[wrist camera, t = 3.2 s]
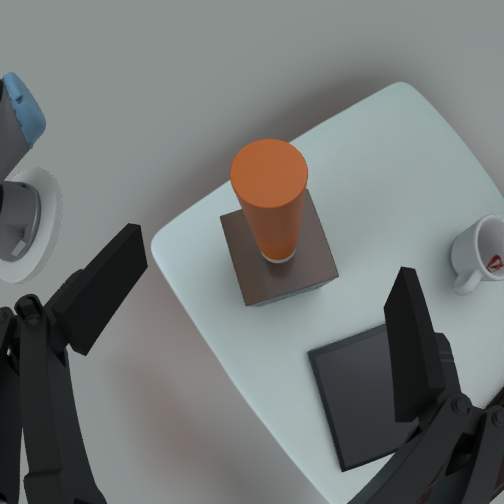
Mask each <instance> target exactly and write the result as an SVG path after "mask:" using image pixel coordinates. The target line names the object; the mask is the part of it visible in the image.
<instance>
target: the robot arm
mask: <svg viewBox="0 0 504 504" xmlns="http://www.w3.org/2000/svg"><path fill="white" fill-rule="evenodd" d="M45 126H46V121H45V117H44V115H43V113H42V111H41V109H40V107H39V105H38V104H37V102H36V100H35V99H34V97H33V96H32V94H31V93H30V91H29V90H28V89H27V87H26V86H25V84H24V83H23V82H22V80H21V79H20V78H19V77H18V76H17V75H16V74H15V73H13V72H9V73H8V74H6V75H5V76H3V78H2V80H1V79H0V259H1V260H3V261H7V262H16V261H18V260H20V259H21V258H22V257H23V256H24V255H25V254H26V253H27V252H28V250H29V249H30V247H31V245H32V244H33V242H34V239H35V237H36V234H37V231H38V228H39V224H40V218H41V200H40V196H39V193H38V191H37V190H36V189H35V188H34V187H33V186H31V185H29V184H28V183H24V182H14V181H4V180H5V178H6V177H7V176H8V175H9V173H10V172H11V171H12V170H13V168H14V167H15V166H16V165H17V164H18V162H19V161H20V160H21V159H22V158H23V157H24V155H25V154H26V153H27V152H28V151H29V150H30V149H32V147H33V144H34V143H35V142H36V140H37V139H38V138H39V137H40V136H41V135H42V133H43V132H44V130H45ZM147 267H148V265H147V260H146V255H145V249H144V244H143V238H142V232H141V226H140V225H137V224H130V223H128V224H127V225H126V226H125V227H124V228H123V229H122V230H121V231H120V232H119V233H118V234H117V235H116V236H115V237H114V238H113V239H112V240H111V241H110V242H109V243H108V244H107V245H106V246H105V247H104V248H103V249H102V250H101V252H100V253H99V254H98V255H97V256H96V257H95V258H94V259H93V260H92V261H91V262H90V263H89V264H88V265H87V266H86V268H85V269H84V270H82V269H79V270H78V271H76V272H75V273H73V274H72V275H71V276H70V277H69V278H68V279H67V280H66V281H65V283H63V285H62V286H61V287H60V289H58V290H57V292H56V293H55V294H54V295H53V296H52V297H51V298H50V300H49V301H48V302H47V303H46V304H45V305H44V307H43V306H42V304H41V302H40V300H39V298H38V297H37V296H36V295H34V294H27V295H25V296H23V297H21V298H20V299H19V300H18V301H17V302H16V304H15V306H14V309H15V311H16V313H17V315H14V313H13V311H12V310H11V309H10V308H9V307H2V308H0V504H18V501H19V490H20V451H21V437H22V426H23V433H24V441H25V448H26V455H27V461H28V465H29V473H28V474H27V475H26V476H25V477H24V480H23V481H24V489H25V493H26V497H27V501H28V504H107V502H106V500H105V498H104V496H103V494H102V493H101V492H100V490H99V489H98V488H97V486H96V484H95V481H94V478H93V475H92V472H91V468H90V465H89V462H88V458H87V455H86V451H85V447H84V443H83V439H82V435H81V430H80V426H79V422H78V417H77V412H76V407H75V401H74V396H73V389H72V383H71V377H70V368H69V360H68V352H67V350H66V348H65V347H66V346H67V345H68V343H69V344H70V345H71V347H72V349H73V350H74V351H75V352H77V353H80V354H82V355H84V356H86V355H87V354H88V352H89V351H90V349H91V348H92V346H93V344H94V343H95V341H96V339H97V338H98V337H99V335H100V334H101V332H102V331H103V329H104V328H105V326H106V325H107V323H108V322H109V321H110V319H111V318H112V316H113V315H114V313H115V312H116V310H117V309H118V308H119V306H120V305H121V303H122V302H123V300H124V299H125V297H126V296H127V295H128V293H129V292H130V291H131V289H132V288H133V286H134V285H135V284H136V282H137V281H138V280H139V278H140V277H141V275H142V274H143V273H144V271H145V270H146V268H147ZM384 314H385V320H386V327H387V335H388V343H389V351H390V360H391V370H392V381H393V394H394V411H395V422H404V423H406V422H412V421H414V420H415V419H416V418H417V417H418V418H419V424H418V425H417V426H416V427H415V428H414V429H413V430H411V431H410V432H409V433H408V434H407V435H409V436H408V438H407V439H406V440H405V442H404V443H403V444H402V445H401V447H400V448H399V449H398V450H397V451H396V453H395V454H394V455H393V456H392V457H391V459H390V460H389V461H388V462H387V463H386V464H385V465H384V467H383V468H382V469H381V470H380V471H379V472H378V473H377V474H376V475H375V476H374V477H373V478H372V480H371V481H370V482H369V483H368V484H367V485H366V486H365V487H364V488H363V489H362V490H361V491H360V492H359V493H358V494H357V495H356V496H355V497H354V498H353V499H352V500H350V501H349V502H348V503H347V504H415V503H416V502H417V500H418V499H419V498H420V496H421V495H422V494H423V493H424V491H425V490H426V489H427V487H428V486H429V484H430V483H431V482H432V480H433V479H434V477H435V476H436V474H437V473H438V472H439V470H440V469H441V467H442V466H443V467H442V469H441V472H440V474H439V477H438V479H437V482H436V484H435V486H434V489H433V491H432V493H431V495H430V497H429V500H428V502H427V504H489V503H490V500H491V497H492V494H493V491H494V488H495V485H496V481H497V478H498V474H499V470H500V466H501V462H502V458H503V453H504V408H503V407H502V406H500V405H494V406H492V407H491V408H489V409H488V410H484V409H481V408H478V407H475V406H472V403H471V401H470V399H469V398H468V397H467V396H466V395H465V394H463V393H462V392H461V389H460V384H459V379H458V375H457V370H456V366H455V363H454V358H453V355H452V350H451V347H450V343H449V341H448V340H447V338H446V337H445V335H444V334H443V333H436V332H434V330H433V326H432V322H431V319H430V315H429V312H428V308H427V305H426V302H425V298H424V295H423V292H422V289H421V286H420V283H419V280H418V277H417V274H416V271H415V269H413V268H407V267H401V268H400V270H399V273H398V275H397V278H396V280H395V283H394V285H393V287H392V290H391V292H390V294H389V297H388V299H387V301H386V303H385V306H384ZM8 349H9V350H10V353H9V355H7V351H8Z"/></svg>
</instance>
